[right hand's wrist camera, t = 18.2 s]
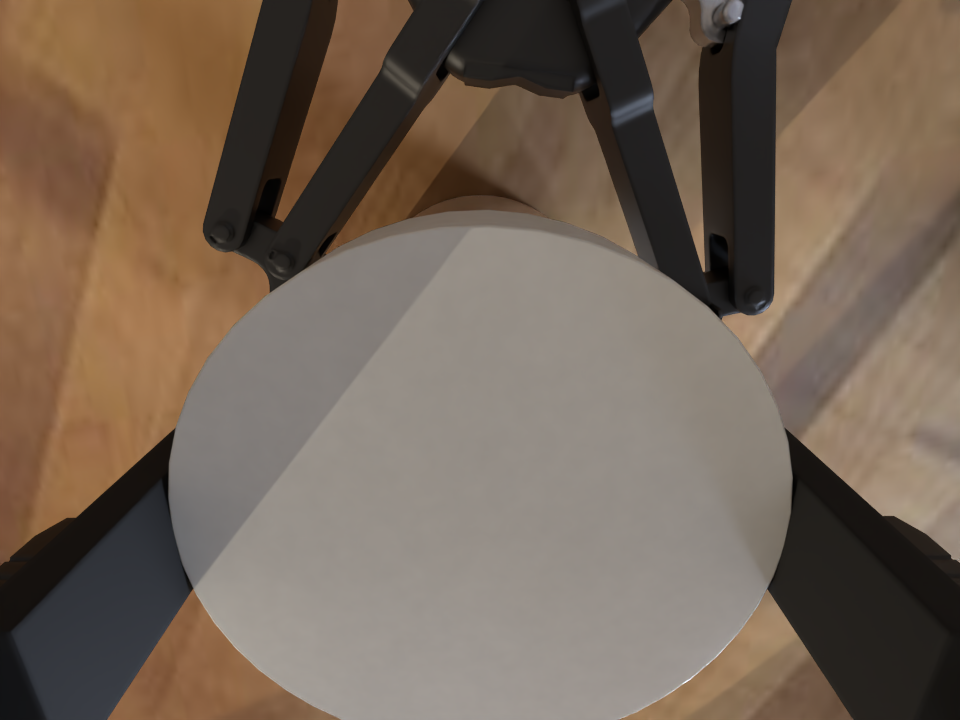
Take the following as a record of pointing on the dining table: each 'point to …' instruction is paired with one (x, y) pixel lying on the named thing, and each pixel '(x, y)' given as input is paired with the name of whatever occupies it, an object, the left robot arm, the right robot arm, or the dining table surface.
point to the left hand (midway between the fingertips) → (466, 463)
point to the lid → (480, 477)
